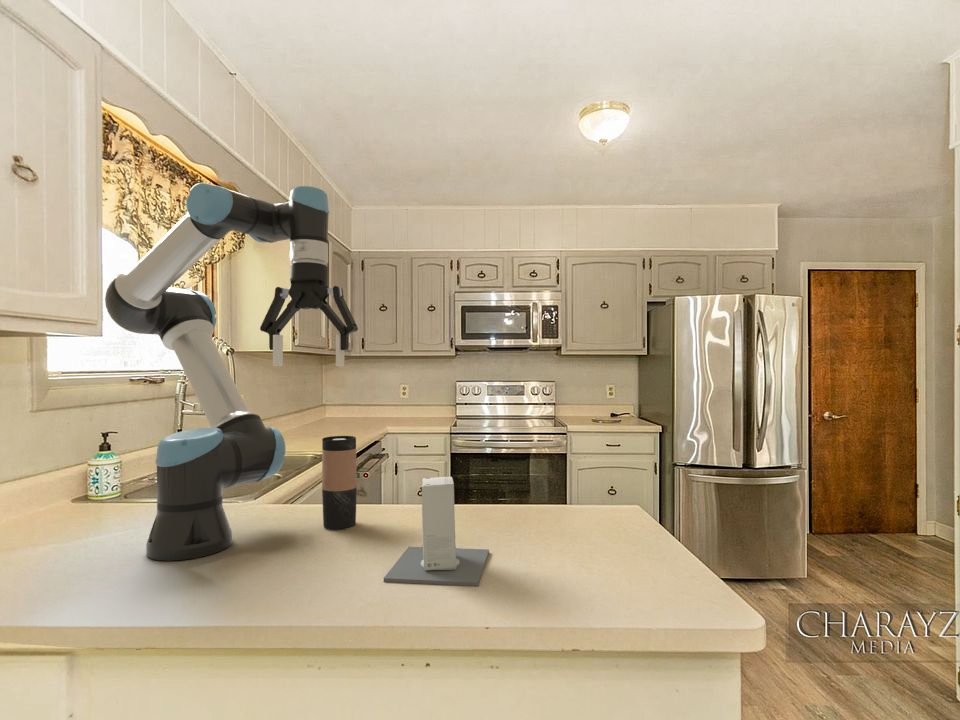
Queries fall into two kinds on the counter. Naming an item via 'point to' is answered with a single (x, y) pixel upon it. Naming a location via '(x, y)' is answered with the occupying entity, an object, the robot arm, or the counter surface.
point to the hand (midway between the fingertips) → (308, 366)
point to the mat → (464, 574)
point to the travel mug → (339, 482)
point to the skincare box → (438, 523)
